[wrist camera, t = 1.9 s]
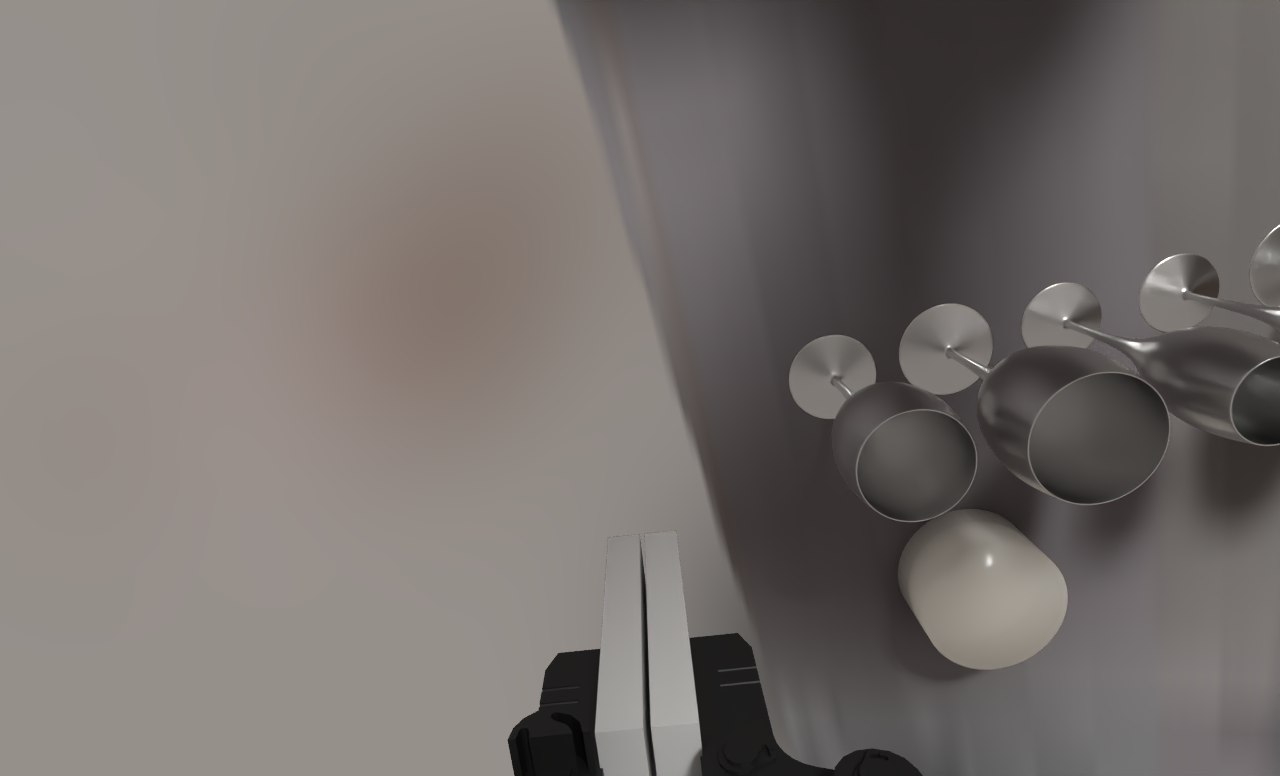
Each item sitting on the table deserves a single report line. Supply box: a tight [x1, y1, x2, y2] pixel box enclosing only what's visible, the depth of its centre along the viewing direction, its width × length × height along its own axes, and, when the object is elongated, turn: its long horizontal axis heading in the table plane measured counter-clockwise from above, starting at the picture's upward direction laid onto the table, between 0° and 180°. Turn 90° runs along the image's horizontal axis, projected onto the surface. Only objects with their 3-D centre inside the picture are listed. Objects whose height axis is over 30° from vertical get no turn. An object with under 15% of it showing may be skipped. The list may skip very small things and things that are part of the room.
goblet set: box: [788, 225, 1280, 522], centre depth 31 cm, size 28×6×13 cm, turn 104°
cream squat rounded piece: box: [898, 509, 1068, 670], centre depth 39 cm, size 7×7×4 cm
